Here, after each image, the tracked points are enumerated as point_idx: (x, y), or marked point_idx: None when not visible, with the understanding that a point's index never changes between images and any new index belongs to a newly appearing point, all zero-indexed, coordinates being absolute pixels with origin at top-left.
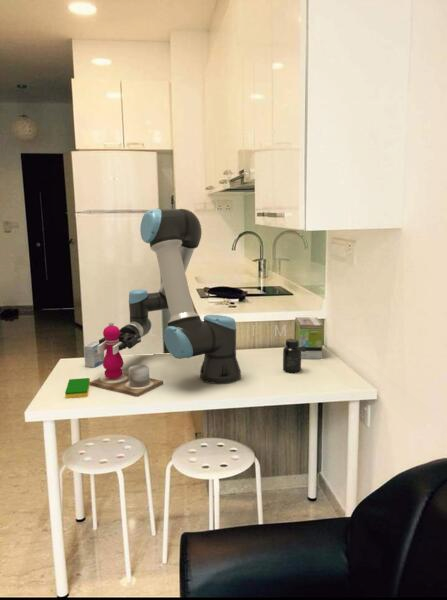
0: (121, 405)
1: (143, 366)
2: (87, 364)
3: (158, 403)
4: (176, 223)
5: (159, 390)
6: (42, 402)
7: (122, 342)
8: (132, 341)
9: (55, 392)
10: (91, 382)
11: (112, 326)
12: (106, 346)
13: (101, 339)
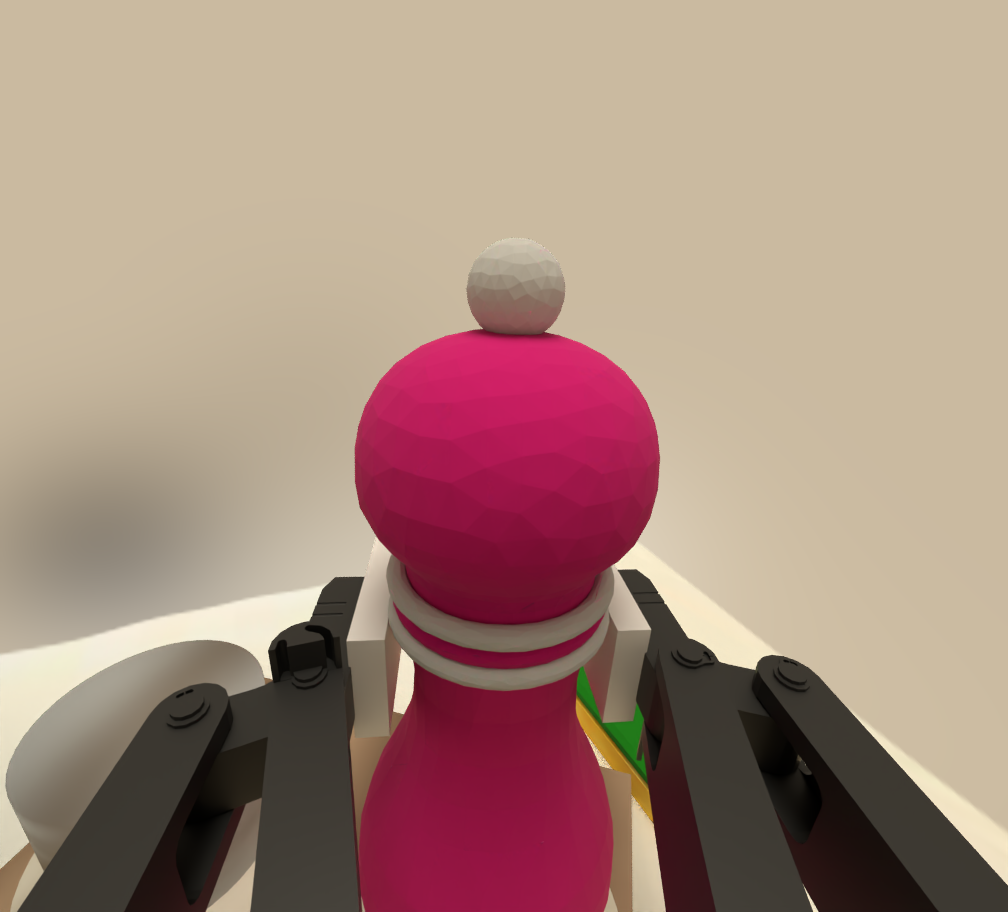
0: (308, 592)
1: (77, 769)
2: None
3: (104, 633)
4: None
5: (3, 827)
6: (649, 568)
7: (338, 663)
8: (92, 824)
9: (709, 648)
10: (612, 770)
11: (478, 330)
12: (598, 668)
13: (839, 725)
